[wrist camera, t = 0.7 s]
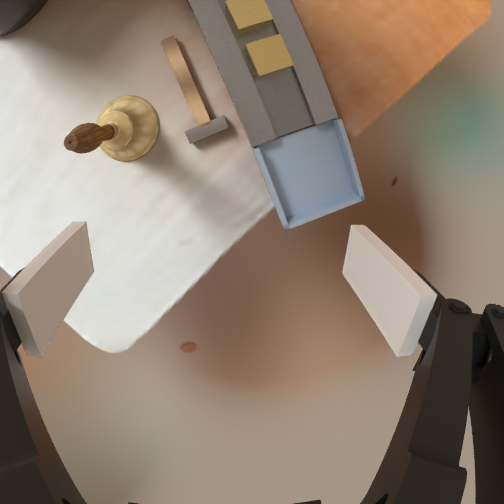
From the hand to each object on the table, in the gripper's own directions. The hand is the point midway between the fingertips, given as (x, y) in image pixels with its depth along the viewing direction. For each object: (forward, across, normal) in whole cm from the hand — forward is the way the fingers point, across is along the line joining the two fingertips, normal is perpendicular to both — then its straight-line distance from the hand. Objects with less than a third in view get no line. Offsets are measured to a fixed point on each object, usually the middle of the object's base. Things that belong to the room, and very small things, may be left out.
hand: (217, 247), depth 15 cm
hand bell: (+25, -12, +5) cm, 28 cm away
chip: (+24, +5, +13) cm, 28 cm away
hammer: (+25, -4, +10) cm, 27 cm away
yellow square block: (+24, +2, +19) cm, 30 cm away
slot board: (+25, +4, +15) cm, 29 cm away
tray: (+25, +11, 0) cm, 27 cm away
